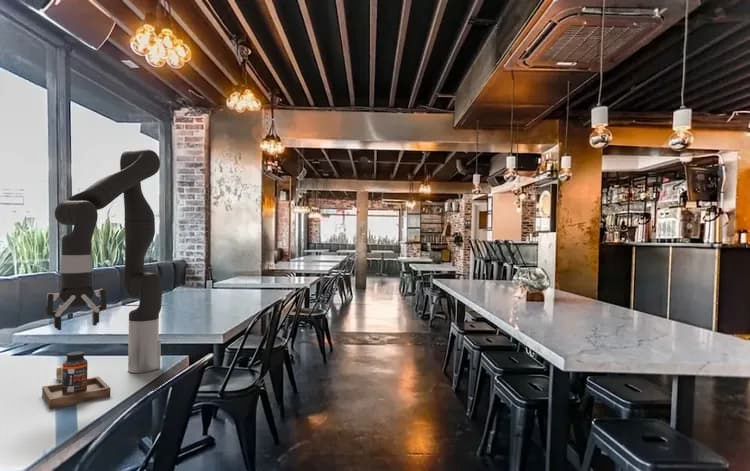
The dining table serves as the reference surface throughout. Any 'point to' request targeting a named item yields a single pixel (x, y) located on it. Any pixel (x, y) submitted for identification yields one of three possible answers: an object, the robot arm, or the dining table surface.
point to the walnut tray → (93, 392)
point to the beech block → (58, 372)
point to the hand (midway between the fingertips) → (77, 327)
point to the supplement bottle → (74, 374)
